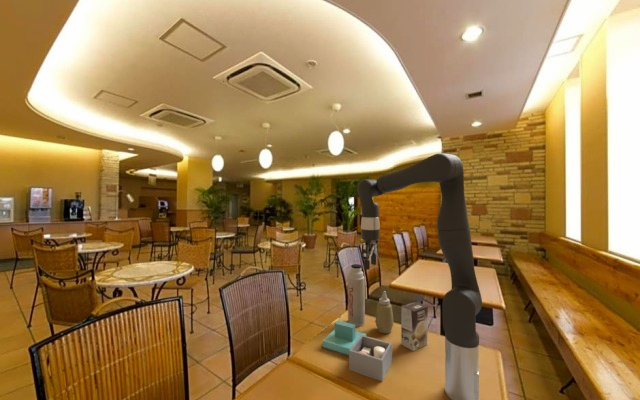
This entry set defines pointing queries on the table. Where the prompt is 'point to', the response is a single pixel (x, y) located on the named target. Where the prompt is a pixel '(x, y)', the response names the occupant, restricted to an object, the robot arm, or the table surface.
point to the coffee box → (414, 325)
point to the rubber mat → (335, 351)
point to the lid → (342, 337)
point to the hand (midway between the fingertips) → (370, 266)
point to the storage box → (370, 357)
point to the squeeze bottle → (384, 315)
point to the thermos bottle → (356, 296)
